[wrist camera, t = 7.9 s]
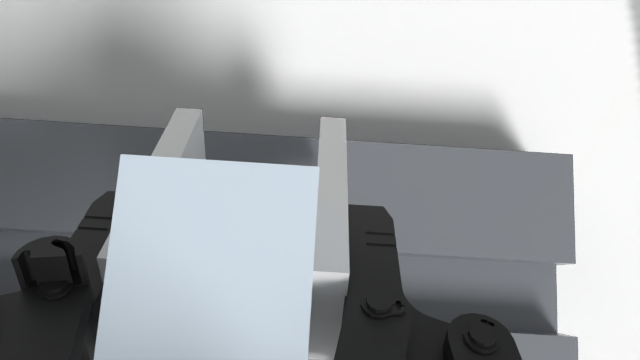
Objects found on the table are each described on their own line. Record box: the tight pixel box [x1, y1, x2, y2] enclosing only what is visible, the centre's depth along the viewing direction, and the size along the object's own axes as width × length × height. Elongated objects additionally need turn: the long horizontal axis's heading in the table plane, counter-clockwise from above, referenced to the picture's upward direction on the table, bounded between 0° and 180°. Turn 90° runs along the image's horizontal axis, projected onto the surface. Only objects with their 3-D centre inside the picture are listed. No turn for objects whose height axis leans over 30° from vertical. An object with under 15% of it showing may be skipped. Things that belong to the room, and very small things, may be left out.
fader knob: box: [94, 154, 320, 360], centre depth 14 cm, size 4×5×10 cm
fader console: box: [0, 118, 578, 360], centre depth 20 cm, size 28×10×3 cm, turn 87°
